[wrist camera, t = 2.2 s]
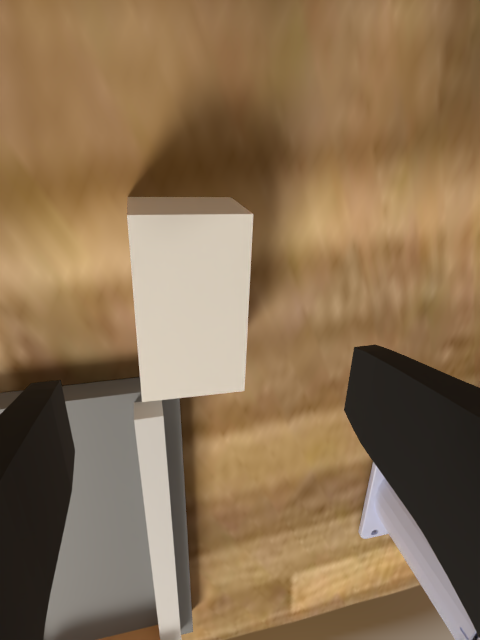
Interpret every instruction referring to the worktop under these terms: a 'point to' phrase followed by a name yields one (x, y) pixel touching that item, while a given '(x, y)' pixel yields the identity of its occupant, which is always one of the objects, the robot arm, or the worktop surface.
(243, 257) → the block
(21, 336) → the worktop surface
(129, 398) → the rail mount board
